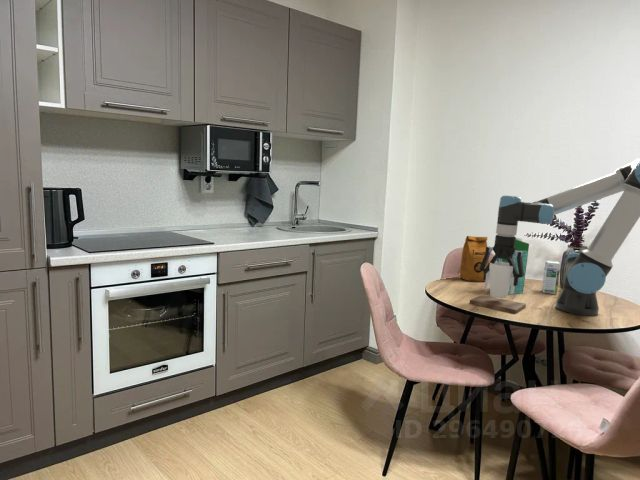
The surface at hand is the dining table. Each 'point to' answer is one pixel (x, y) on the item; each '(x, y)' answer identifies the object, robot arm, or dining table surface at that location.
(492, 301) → the walnut board
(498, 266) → the foam cup
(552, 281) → the syrup box
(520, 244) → the milk carton
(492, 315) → the dining table surface
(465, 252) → the coffee package
